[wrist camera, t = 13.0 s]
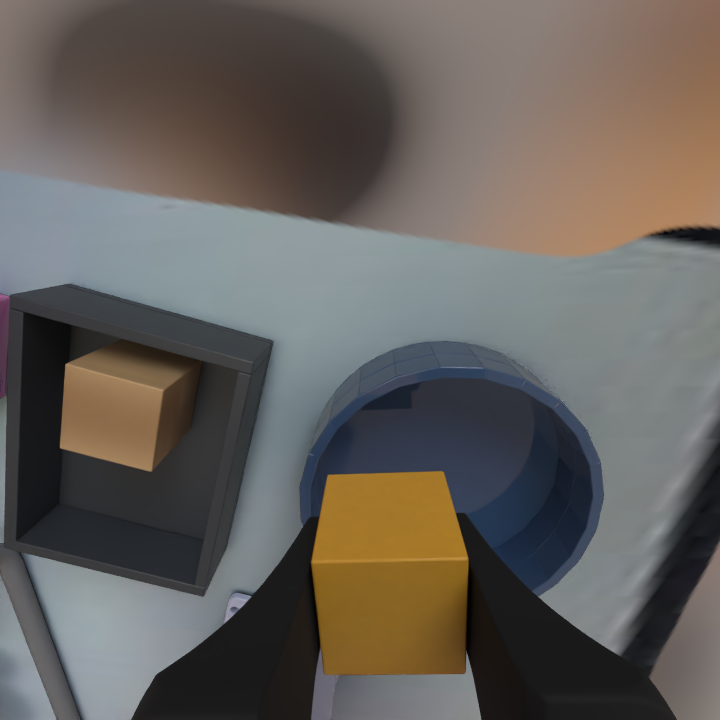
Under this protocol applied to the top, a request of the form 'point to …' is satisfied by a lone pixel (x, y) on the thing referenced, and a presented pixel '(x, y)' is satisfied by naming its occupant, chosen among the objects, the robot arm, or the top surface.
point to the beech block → (128, 403)
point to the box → (4, 343)
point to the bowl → (469, 449)
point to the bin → (116, 481)
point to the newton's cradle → (36, 633)
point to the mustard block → (390, 576)
